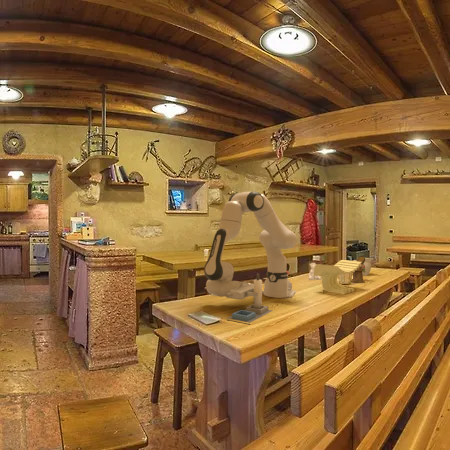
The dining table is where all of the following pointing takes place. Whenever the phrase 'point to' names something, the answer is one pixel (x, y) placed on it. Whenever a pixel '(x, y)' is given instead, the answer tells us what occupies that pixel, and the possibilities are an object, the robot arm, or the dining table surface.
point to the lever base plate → (249, 314)
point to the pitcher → (366, 266)
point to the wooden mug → (358, 272)
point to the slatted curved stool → (335, 275)
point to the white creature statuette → (311, 274)
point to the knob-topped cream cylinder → (258, 293)
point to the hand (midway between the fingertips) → (259, 293)
